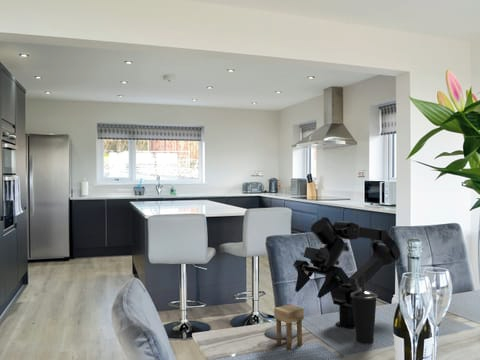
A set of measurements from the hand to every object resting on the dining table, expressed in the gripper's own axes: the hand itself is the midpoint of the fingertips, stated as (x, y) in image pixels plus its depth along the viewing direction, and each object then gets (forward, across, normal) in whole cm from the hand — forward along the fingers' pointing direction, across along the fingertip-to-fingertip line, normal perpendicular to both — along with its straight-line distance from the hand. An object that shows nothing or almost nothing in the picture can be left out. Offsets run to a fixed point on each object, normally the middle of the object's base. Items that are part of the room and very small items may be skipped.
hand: (306, 294), depth 127 cm
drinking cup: (+1, +12, +18) cm, 21 cm away
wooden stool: (+15, 0, +4) cm, 15 cm away
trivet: (+12, -8, +7) cm, 16 cm away
